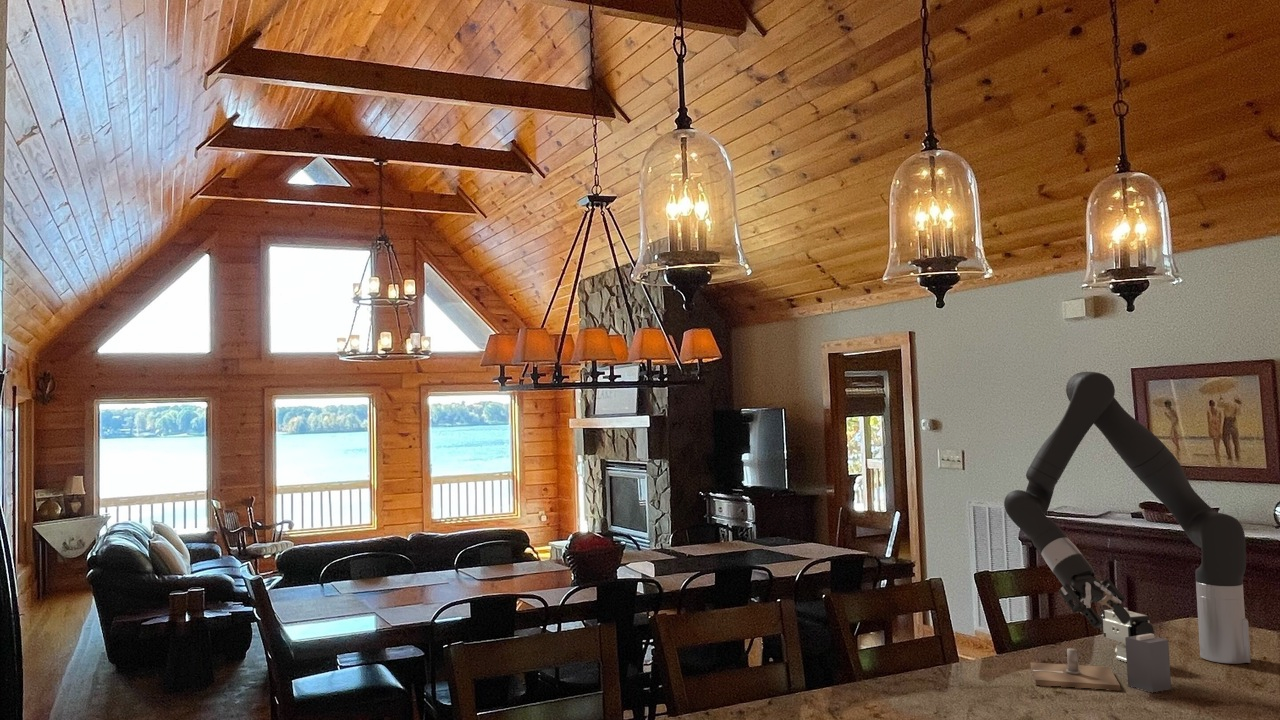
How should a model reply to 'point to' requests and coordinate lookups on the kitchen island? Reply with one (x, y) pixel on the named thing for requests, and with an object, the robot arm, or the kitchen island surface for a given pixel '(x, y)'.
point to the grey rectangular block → (1148, 662)
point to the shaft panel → (1074, 674)
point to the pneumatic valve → (1124, 629)
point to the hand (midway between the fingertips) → (1113, 623)
